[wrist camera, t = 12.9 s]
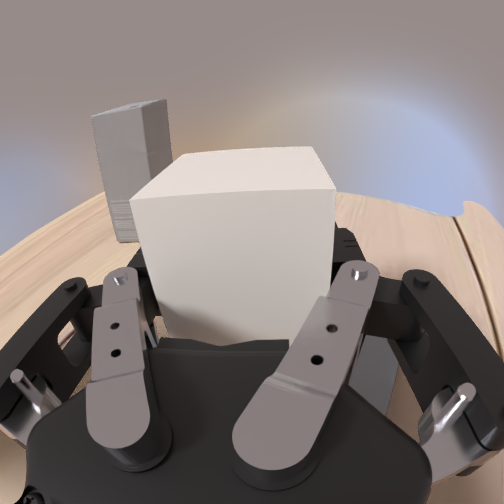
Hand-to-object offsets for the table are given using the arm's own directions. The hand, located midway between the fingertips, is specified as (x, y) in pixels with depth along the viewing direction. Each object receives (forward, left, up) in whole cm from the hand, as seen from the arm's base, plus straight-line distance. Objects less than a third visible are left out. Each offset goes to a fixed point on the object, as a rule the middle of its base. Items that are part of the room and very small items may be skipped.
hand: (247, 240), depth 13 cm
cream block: (+1, -2, -8) cm, 8 cm away
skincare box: (-22, +13, -9) cm, 27 cm away
